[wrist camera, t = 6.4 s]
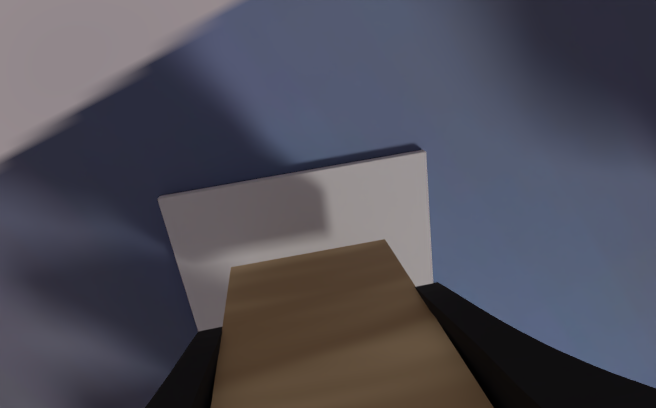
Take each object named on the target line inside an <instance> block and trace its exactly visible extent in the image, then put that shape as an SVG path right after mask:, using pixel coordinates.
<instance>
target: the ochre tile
mask: <svg viewBox="0 0 656 408" xmlns="http://www.w3.org/2000/svg"><path fill="white" fill-rule="evenodd" d="M415 287H416V286H415V285H414V283H413V282H412V280H411V279H410V277H409V276H408V274H407V273H406V271H405V269H404V268H403V266H402V265H401V263H400V262H399V260H398V259H397V257H396V255H395V254H394V252H393V251H392V249H391V248H390V246H389V245H388V243H387V242H386V240H385V239H383V240H377V241H372V242H366V243H361V244H355V245H350V246H345V247H339V248H334V249H328V250H323V251H317V252H312V253H306V254H301V255H295V256H290V257H284V258H279V259H273V260H268V261H263V262H257V263H252V264H246V265H241V266H235V267H231V270H230V277H229V284H228V291H227V298H226V305H225V312H224V319H223V326H222V335H221V342H220V350H219V355H218V361H217V368H216V375H215V382H214V389H213V396H212V402H211V408H494V407H493V406H492V404H491V403H490V401H489V400H488V398H487V396H486V395H485V393H484V392H483V390H482V389H481V387H480V386H479V384H478V383H477V381H476V379H475V378H474V376H473V375H472V373H471V372H470V370H469V369H468V367H467V366H466V364H465V362H464V361H463V359H462V358H461V356H460V355H459V353H458V352H457V350H456V348H455V347H454V345H453V344H452V342H451V341H450V339H449V338H448V336H447V335H446V333H445V331H444V330H443V328H442V327H441V325H440V324H439V322H438V321H437V319H436V318H435V316H434V315H433V314H432V313H431V311H430V310H429V309H428V307H427V305H426V304H425V302H424V301H423V299H422V298H421V296H420V295H419V293H418V291H417V290H416V288H415Z"/></svg>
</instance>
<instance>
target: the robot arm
mask: <svg viewBox="0 0 656 408" xmlns="http://www.w3.org/2000/svg"><path fill="white" fill-rule="evenodd" d="M415 288H416V290H417V291H418V293H419V295H420V296H421V298H422V299H423V301H424V302H425V304H426V305H427V307H428V309H429V310H430V311H431V313H432V314H433V315H434V316H435V318H436V319H437V321H438V322H439V324H440V325H441V327H442V328H443V330H444V331H445V333H446V335H447V336H448V338H449V339H450V341H451V342H452V344H453V345H454V347H455V348H456V350H457V352H458V353H459V355H460V356H461V358H462V359H463V361H464V362H465V364H466V366H467V367H468V369H469V370H470V372H471V373H472V375H473V376H474V378H475V379H476V381H477V383H478V384H479V386H480V387H481V389H482V390H483V392H484V393H485V395H486V396H487V398H488V400H489V401H490V403H491V404H492V406H493V407H494V408H656V388H653V387H650V386H647V385H644V384H641V383H639V382H636V381H633V380H630V379H627V378H625V377H622V376H619V375H616V374H614V373H611V372H608V371H606V370H603V369H601V368H598V367H596V366H593V365H591V364H588V363H586V362H584V361H582V360H579V359H577V358H575V357H572V356H570V355H568V354H565V353H563V352H561V351H559V350H556V349H554V348H552V347H550V346H548V345H546V344H544V343H542V342H540V341H538V340H536V339H534V338H532V337H530V336H528V335H526V334H524V333H523V332H521V331H519V330H517V329H515V328H513V327H511V326H510V325H508V324H506V323H504V322H502V321H501V320H499V319H497V318H495V317H494V316H492V315H490V314H489V313H487V312H485V311H484V310H482V309H480V308H479V307H477V306H475V305H474V304H472V303H471V302H469V301H467V300H466V299H464V298H462V297H461V296H459V295H458V294H456V293H455V292H453V291H451V290H450V289H448V288H446V287H445V286H443V285H441V284H440V283H438V282H436V283H432V284H427V285H422V286H417V287H415ZM221 335H222V327H218V328H213V329H208V330H203V331H199V332H198V333H197V334H196V336H195V337H194V339H193V340H192V342H191V343H190V344H189V346H188V347H187V349H186V350H185V352H184V353H183V355H182V356H181V358H180V359H179V361H178V362H177V364H176V365H175V367H174V368H173V370H172V371H171V373H170V374H169V375H168V377H167V378H166V380H165V381H164V382H163V384H162V385H161V387H160V388H159V389H158V391H157V392H156V394H155V395H154V396H153V398H152V399H151V400H150V402H149V403H148V405H147V406H146V407H145V408H211V402H212V396H213V389H214V382H215V375H216V368H217V361H218V355H219V350H220V342H221Z"/></svg>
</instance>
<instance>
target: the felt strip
mask: <svg viewBox="0 0 656 408" xmlns="http://www.w3.org/2000/svg"><path fill="white" fill-rule="evenodd" d="M157 200H158V203H159V206H160V209H161V213H162V216H163V219H164V222H165V226H166V229H167V232H168V235H169V239H170V242H171V245H172V248H173V251H174V255H175V258H176V261H177V264H178V268H179V271H180V274H181V277H182V281H183V284H184V287H185V290H186V294H187V297H188V300H189V303H190V307H191V310H192V313H193V316H194V320H195V323H196V326H197V329H198V332H199V331H203V330H208V329H213V328H218V327H222V326H223V319H224V312H225V305H226V298H227V291H228V284H229V277H230V270H231V267H235V266H241V265H246V264H252V263H257V262H263V261H268V260H273V259H279V258H284V257H290V256H295V255H301V254H306V253H312V252H317V251H323V250H328V249H334V248H339V247H345V246H350V245H355V244H361V243H366V242H372V241H377V240H383V239H385V240H386V242H387V243H388V245H389V246H390V248H391V249H392V251H393V252H394V254H395V255H396V257H397V259H398V260H399V262H400V263H401V265H402V266H403V268H404V269H405V271H406V273H407V274H408V276H409V277H410V279H411V280H412V282H413V283H414V285H415V286H416V287H417V286H422V285H427V284H432V283H433V271H432V253H431V234H430V216H429V198H428V179H427V161H426V151H424V150H419V151H413V152H407V153H402V154H396V155H390V156H385V157H379V158H373V159H367V160H362V161H356V162H350V163H345V164H339V165H333V166H328V167H322V168H316V169H311V170H305V171H299V172H293V173H288V174H282V175H276V176H271V177H265V178H259V179H254V180H248V181H242V182H237V183H231V184H225V185H220V186H214V187H208V188H202V189H197V190H191V191H185V192H180V193H174V194H168V195H163V196H159V197H158V199H157Z"/></svg>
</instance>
